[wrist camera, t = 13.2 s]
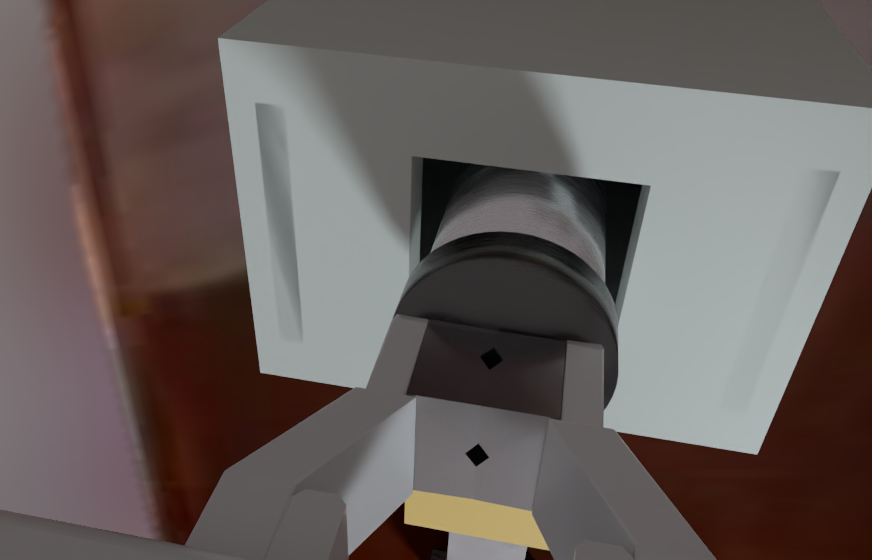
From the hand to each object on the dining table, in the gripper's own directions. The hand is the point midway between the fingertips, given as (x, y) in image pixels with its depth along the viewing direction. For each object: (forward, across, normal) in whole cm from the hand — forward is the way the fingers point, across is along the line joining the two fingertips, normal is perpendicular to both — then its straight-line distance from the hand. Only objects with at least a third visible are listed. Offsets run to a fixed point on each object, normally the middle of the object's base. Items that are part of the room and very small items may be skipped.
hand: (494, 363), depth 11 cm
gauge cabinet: (+13, 0, 0) cm, 13 cm away
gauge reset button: (+7, 0, 0) cm, 7 cm away
